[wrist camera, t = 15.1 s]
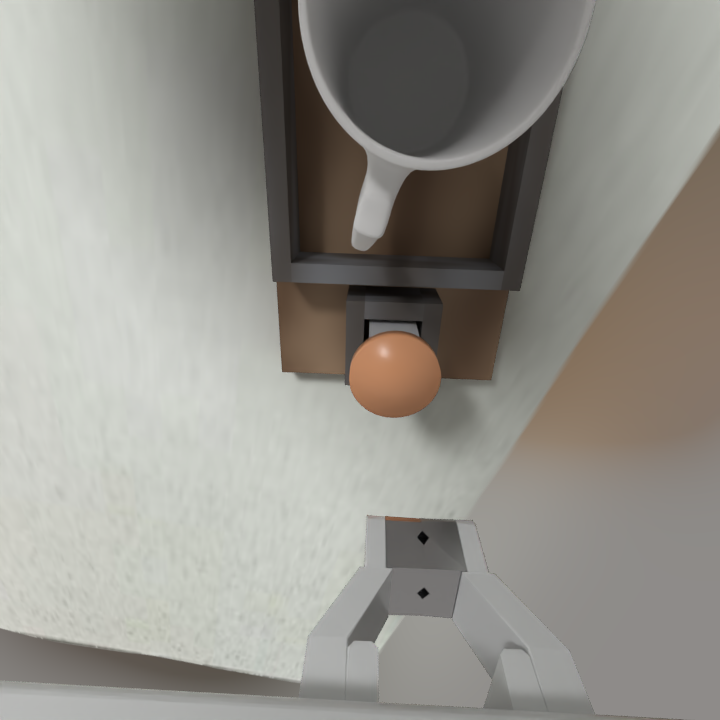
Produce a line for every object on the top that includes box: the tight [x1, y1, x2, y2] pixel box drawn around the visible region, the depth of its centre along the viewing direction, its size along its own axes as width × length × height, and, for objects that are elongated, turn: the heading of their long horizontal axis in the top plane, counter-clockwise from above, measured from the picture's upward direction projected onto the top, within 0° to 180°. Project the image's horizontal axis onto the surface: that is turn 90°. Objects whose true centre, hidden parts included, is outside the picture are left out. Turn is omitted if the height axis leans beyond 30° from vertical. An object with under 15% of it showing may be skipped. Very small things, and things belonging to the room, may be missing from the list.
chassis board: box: [254, 0, 563, 385], centre depth 21 cm, size 14×22×4 cm, turn 178°
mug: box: [298, 0, 596, 251], centre depth 15 cm, size 10×7×12 cm, turn 161°
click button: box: [349, 319, 441, 418], centre depth 21 cm, size 4×4×5 cm
